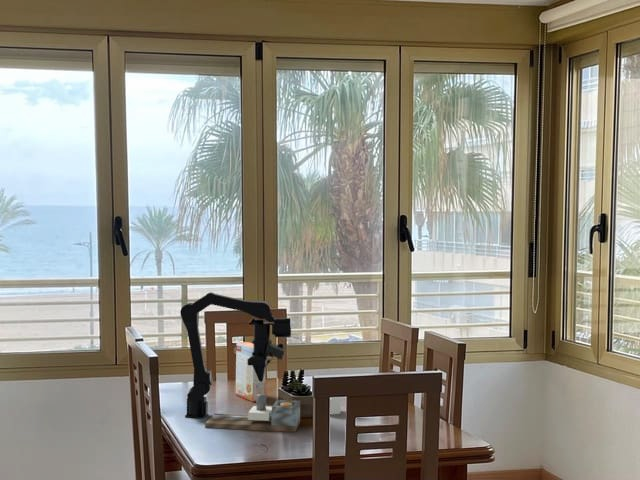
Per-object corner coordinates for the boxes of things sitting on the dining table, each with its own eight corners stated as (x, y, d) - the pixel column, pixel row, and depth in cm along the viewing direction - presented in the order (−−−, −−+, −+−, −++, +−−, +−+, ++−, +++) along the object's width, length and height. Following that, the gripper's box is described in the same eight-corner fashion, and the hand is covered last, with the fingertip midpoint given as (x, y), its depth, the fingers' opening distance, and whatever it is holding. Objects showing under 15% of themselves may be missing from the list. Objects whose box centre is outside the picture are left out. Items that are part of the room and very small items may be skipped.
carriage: (247, 419, 232) (248, 397, 232) (253, 412, 241) (253, 391, 241) (268, 420, 231) (269, 398, 231) (273, 413, 240) (274, 392, 240)
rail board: (205, 427, 232) (205, 404, 232) (214, 417, 244) (214, 396, 244) (295, 431, 228) (295, 408, 228) (300, 421, 240) (300, 400, 240)
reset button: (279, 410, 233) (279, 404, 233) (281, 407, 237) (281, 401, 237) (291, 411, 233) (291, 405, 233) (293, 408, 237) (293, 402, 237)
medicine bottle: (314, 411, 255) (315, 378, 255) (332, 409, 258) (333, 376, 258) (322, 416, 249) (323, 382, 249) (340, 414, 252) (341, 380, 251)
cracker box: (266, 400, 270) (266, 346, 270) (252, 402, 266) (253, 347, 266) (248, 393, 281) (249, 341, 281) (234, 395, 278) (235, 342, 278)
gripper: (279, 342, 238) (279, 388, 238) (288, 334, 256) (287, 376, 256) (247, 341, 239) (246, 386, 239) (258, 333, 257) (257, 375, 257)
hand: (261, 381), depth 248 cm, fingers closed
